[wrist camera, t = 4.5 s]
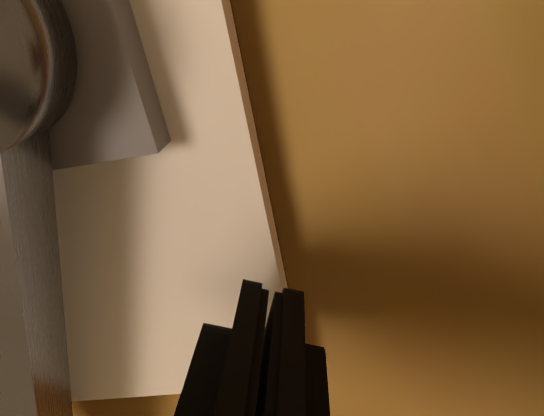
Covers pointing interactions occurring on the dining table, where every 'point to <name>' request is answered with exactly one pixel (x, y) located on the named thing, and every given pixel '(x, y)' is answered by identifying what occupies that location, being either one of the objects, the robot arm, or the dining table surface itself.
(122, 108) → the hinge board
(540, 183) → the dining table surface
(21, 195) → the link
